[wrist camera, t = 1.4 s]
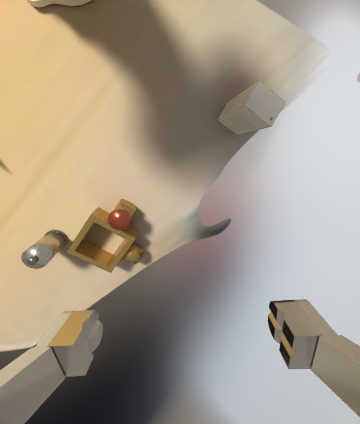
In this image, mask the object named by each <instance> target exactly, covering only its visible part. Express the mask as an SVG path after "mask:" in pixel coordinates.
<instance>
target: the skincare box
mask: <svg viewBox="0 0 360 424" xmlns="http://www.w3.org/2000/svg"><path fill="white" fill-rule="evenodd" d="M284 104H285V101H284V100H282V99H281V98H280V97H279V96H278V95H277V94H275V93H274V92H273V91H272V90H271V89H269V88H268V87H267V86H266V85H265V84H263V83H262V82H261V81H260V80H258V81H257V82H255V83H254V84H253V85H251V86H250V87H248V88H247V89H246V90H244V91H243V92H241V93H240V94H239V95H237V96H236V97H234V98H233V99H232V100H230V101H229V102H228V103H227V104H226V106H225V108H224V109H223V111H222V113H221V115H220V116H219V118H218V120H217V121H218V122H220V123H221V124H223V125H224V126H225V127H227V128H228V129H230V130H231V131H232V132H234V133H235V134H237V135H240V134H244V133H248V132H252V131H256V130H260V129H264V128H268V127H271V126H272V124H273V123H274V121H275V119H276V118H277V116H278V114H279V113H280V111H281V109H282V108H283V106H284Z"/></svg>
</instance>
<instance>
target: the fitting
mask: <svg viewBox="0 0 360 424" xmlns="http://www.w3.org/2000/svg"><path fill="white" fill-rule="evenodd" d="M135 211H136V207H135V206H134V205H133V204H132V203H130V202H128V201H126V200H124V199H121V200H120V202H119V203H118V205H117V206H116V208H115V209H114V211H112V212H111V213H110V214H109V213H107V212H106V211H104V210H102V209H100V208H99V207H98V208H97V209H96V210H95V211H94V212H93V213H92V214H91V215H90V217H89V218H88V220H87V221H86V223H85V225H84V226H83V228H82V229H81V231H80V232H79V234H78V235H77V237H76V238H75V240H74V241H73V243H72V245H71V246H70V248H69V249H68V251H67V252H66V253H68V254H71V255H73V256H75V257H77V258H79V259H82V260H84V261H86V262H88V263H90V264H93V265H95V266H97V267H99V268H101V269H104V270H106V271H108V272H110V273H111V272H112V271H113V269H114V268H115V266H116V265H117V264H118V262H119V261H120V260H121V258H123V259H125V260H127V261H129V262H132V263H134V264H136V263H137V262H138V261H139V260H140V258H141V256H142V254H143V249H141V248H139V247H138V246H136V245H134V244H132V243H133V242H134V240H135V239H136V234H137V229H135V228H134V227H132V226H130V223H131V217H132V215H133V214H134V212H135ZM94 223H97V224H98V225H100V226H102V227H104V228H106V229H108V230H110V231H111V232H113V233H115V234H117V235H119V236H121V237H123V238H124V241H123V242H122V243H121V245H120V246H119V248H118V249H117V250H116V252H115V253H114V255H113V254H111V253H109V252H107V251H105V250H103V249H101V248H99V247H96V246H94V245H92V244H90V243H88V242H86V241H84V238H85V237H86V235H87V234H88V232H89V231H90V229H91V227H92V226H93V224H94Z"/></svg>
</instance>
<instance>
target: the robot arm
mask: <svg viewBox="0 0 360 424" xmlns="http://www.w3.org/2000/svg"><path fill="white" fill-rule="evenodd" d="M27 1H28V2H29V3H30V4H31V5H32V6H34V7H44V6H47V5H50V4H52V3H55V4H62V5H67V6H78V5H83V4H85V3H88V2H90V1H91V0H27ZM269 309H270V310H271V313H270V314H269V315H268V324H269V329H270V332H271V334H272V336H273V338H274V340H276V341H277V342H278V343H279V344H280V349H279V350H280V353H281V355H282V356H283V358H284V361H285V363H286V365H287V367H288V369H311V370H312V372H313V373H314V374H315V375H317V376H318V377H319V378H320V379H321V380H322V381H323V382H324V383H325V384H326V385H327V386H328V387H329V388H330V389H331V390H332V391H333V392H334V393H335V394H336V395H337V396H338V397H340V399H342V400H343V401H344V402H345V403H346V404H347V405H348V406H349V407H350V408H351V409H352V410H353V411H354V412H355V413H356V414H357V415H358V416H360V346H358V345H357V344H355V343H353V342H352V341H350V340H349V339H347V338H345V337H344V336H342V335H341V336H340V335H337V334H336V333H335V331H334V330H333V329H332V328H331V327H330V326H329V324H328V323H327V322H326V321H325V320H324V319H323V318H322V316H321V315H320V314H319V313H318V312H317V310H316V309H315V308H314V307H313V306H312V305H311V304H310V302H308V301H307V300H306V299H303V300H284V301H271V302H270V304H269ZM98 317H99V314H98V312H97V311H94V310H93V311H92V310H91V311H65V312H63V313H62V314H61V315H60V316H59V317H58V318H57V320H56V321H55V322H54V324H53V325H52V326H51V327H50V329H49V330H48V331H47V333H46V334H45V335H44V337H43V338H42V339H41V340H40V342H39V343H38V344H37V346H36V347H35V348H31V349H29V350H28V351H27V352H25V353H24V354H22V355H21V356H20V357H18V358H17V359H16V360H14V361H13V362H11V363H10V364H9V365H7V366H6V367H5V368H3V369H2V370H0V424H24V423H25V422H26V421H27V420H28V419H29V418H30V417H31V416H32V414H33V413H34V412H35V411H36V410H37V409H38V408H39V407H40V406H41V404H42V403H43V402H44V401H45V400H46V399H47V398H48V397H49V396H50V394H51V393H52V392H53V391H54V390H55V389H56V388H57V387H58V386H59V385H60V383H61V382H62V381H63V380H64V379H65V377H67V376H81V375H86V373H87V370H88V368H89V366H90V364H91V361H92V359H93V351H94V350H95V349H96V348H97V347H98V346H99V343H100V341H101V338H102V333H103V327H102V323H101V322H100V321H98V320H97V319H98Z"/></svg>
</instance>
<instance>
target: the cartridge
mask: <svg viewBox="0 0 360 424" xmlns="http://www.w3.org/2000/svg"><path fill="white" fill-rule="evenodd" d="M67 242H68V239H67V236H66V235H65V234H64V233H63V232H61V231H58V230H52V231H49V232H48V233H46V234H45V235H44V237H43V238H41V239H40V240H39V241H37V242H36V243H35V244H33V245H32V246H31V247H30V248H28V249H27V250H26V251H24V252H23V254H22V257H21V258H22V261H23V263H24V264H25V265H26V266H28V267H30V268H35V269H38V268H42V267H44V266H45V265H46V264H47V263H48V262H49V261H50V260H51V259H52V258H53V257H54V256H55V255H56V254H57V253H58V252H59V251H60V250H61V249H62V248H63V247H65V246H66V244H67Z"/></svg>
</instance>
